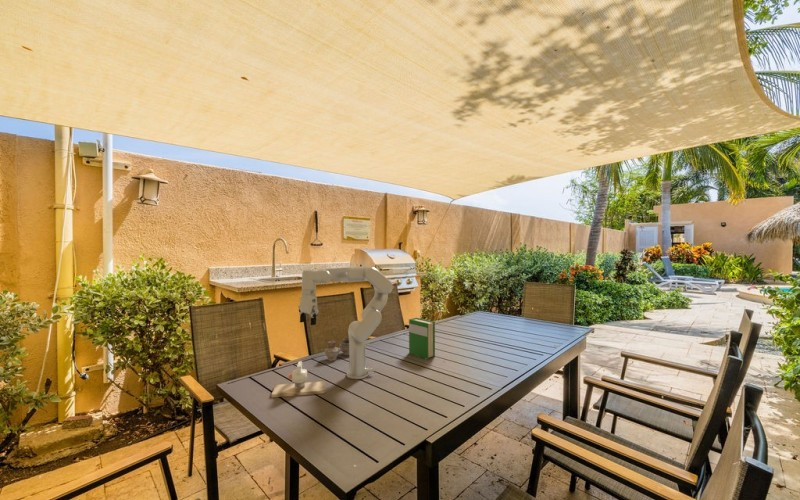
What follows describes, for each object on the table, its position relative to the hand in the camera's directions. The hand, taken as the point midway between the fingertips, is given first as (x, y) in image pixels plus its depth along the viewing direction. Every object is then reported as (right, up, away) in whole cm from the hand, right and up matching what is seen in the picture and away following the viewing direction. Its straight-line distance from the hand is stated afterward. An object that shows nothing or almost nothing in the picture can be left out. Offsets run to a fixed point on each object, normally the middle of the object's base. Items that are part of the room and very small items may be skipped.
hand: (307, 323), depth 187 cm
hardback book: (+66, -33, +48) cm, 88 cm away
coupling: (-3, -28, -9) cm, 29 cm away
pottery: (+10, -33, +45) cm, 57 cm away
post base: (-2, -33, -9) cm, 34 cm away
